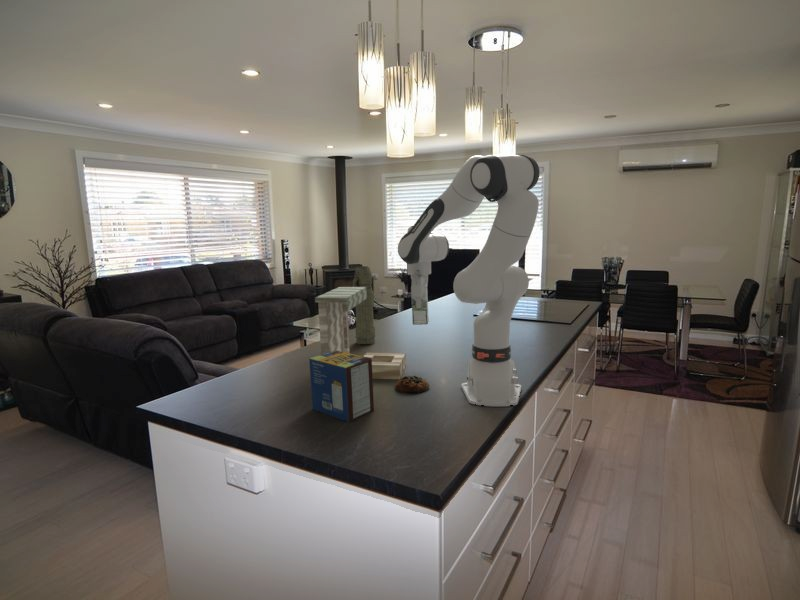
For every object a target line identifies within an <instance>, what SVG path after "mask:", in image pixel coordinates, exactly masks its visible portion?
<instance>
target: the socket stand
mask: <svg viewBox="0 0 800 600" xmlns="http://www.w3.org/2000/svg"><path fill="white" fill-rule="evenodd" d="M365 299H367V287H353V286H338V287H336V288H334V289H331V290H329V291H327V292H324V293H323V294H320V295H317V296H316V297H314V302H315V303H318V304H317V305H318V323H319V324H318V325H319V340H320V341H319V342H320V355H322V354H325V353H329V352H332V351H335V350H336V351H340V352H345V353H350V354H351V351H350V335H349V333H350V332H349V311H350V310H352V309H354V308H356V307H355V306H356V305H358V304H359V303H361V302H362V301H364V300H365ZM363 357H369V358H372V377H373V379H374V380H377V379H378V380H400V379H401V378H402V375H403V373H404V371H405V369H406V366H407V365H406V364H407V363H406V362H407V357H406V353H404V352H403V353H399V352H398V353H397V352H366V353H365V354H364V355H363Z"/></svg>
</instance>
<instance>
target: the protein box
mask: <svg viewBox="0 0 800 600" xmlns="http://www.w3.org/2000/svg"><path fill="white" fill-rule="evenodd" d="M308 361H309V373H310V375H309V376H310V392H311V408H312V410H313V409H314V411H316V410H317V411H316V412H319V411H320V412H319V413H322V414H324V413H325V414H324V415H327V414H328V416H330V415H331V417H333V418H335V417H336V419H338V418H339V420H341V419H342V421H344V420H345V422H348V423H349V422H351V421H353V420H356V419H358V418H361V417H362V416H364V415H366V414H368V413H371V412H372V411H374V410H375V404H374V384H373V383H374V382H373V377H372V358H369V357H364V355H358V354H353V353H351V352H350V353H345V352H340V351H336V350H335V351H332V352H329V353H325V354H322V355H321V354H320V355H319V354H318V355H316V356H311V357H309V360H308Z"/></svg>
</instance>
